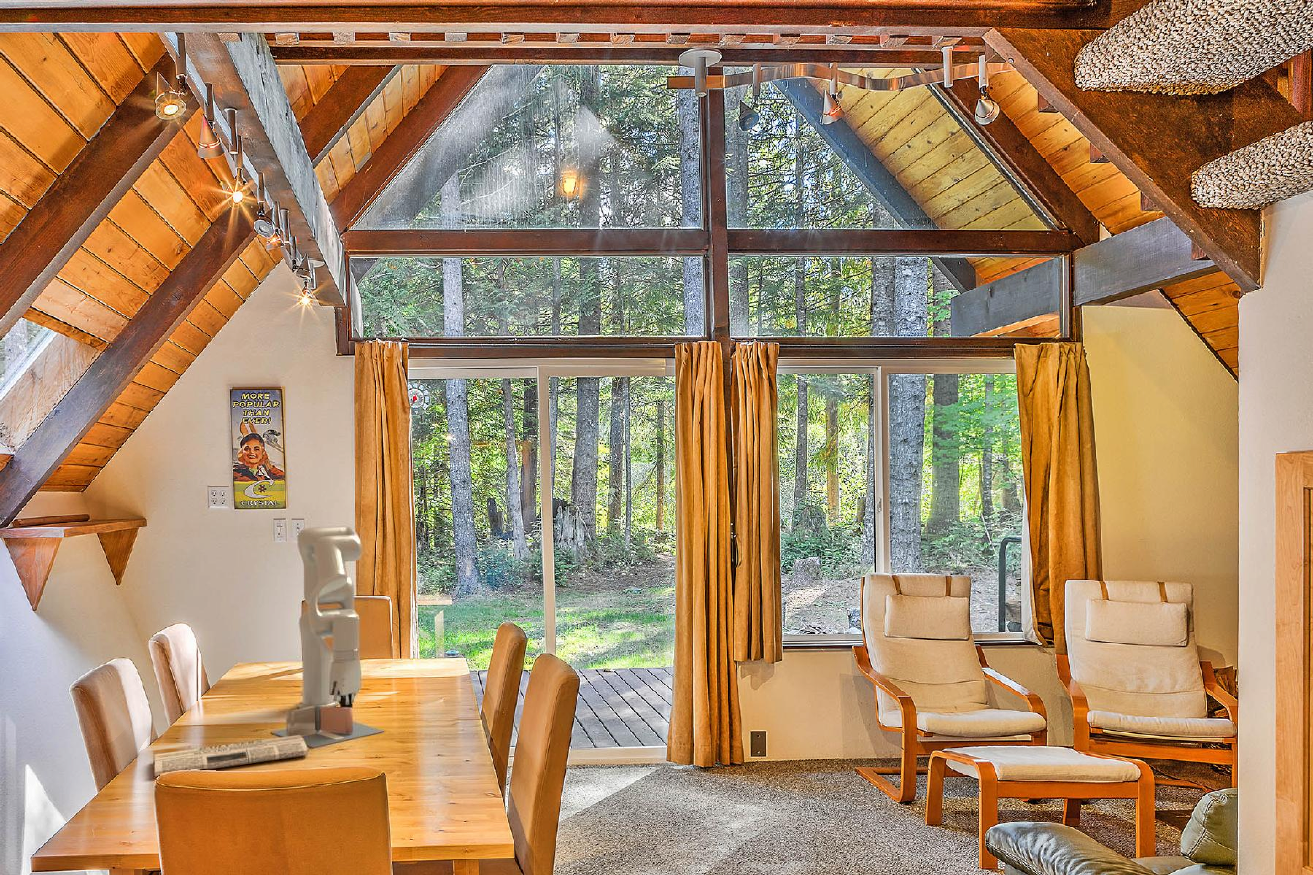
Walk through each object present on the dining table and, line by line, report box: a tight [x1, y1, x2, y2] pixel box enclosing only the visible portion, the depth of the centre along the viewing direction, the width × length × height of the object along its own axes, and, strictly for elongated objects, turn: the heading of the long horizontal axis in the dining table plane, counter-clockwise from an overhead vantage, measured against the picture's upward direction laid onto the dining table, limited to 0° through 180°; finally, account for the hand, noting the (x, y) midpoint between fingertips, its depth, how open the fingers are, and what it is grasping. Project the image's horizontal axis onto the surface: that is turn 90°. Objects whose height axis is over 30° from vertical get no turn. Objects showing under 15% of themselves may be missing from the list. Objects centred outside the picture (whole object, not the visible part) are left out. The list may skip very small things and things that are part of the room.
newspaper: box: [154, 735, 309, 778], centre depth 270 cm, size 37×19×3 cm, turn 117°
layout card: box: [270, 720, 385, 749], centre depth 296 cm, size 26×24×1 cm
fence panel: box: [315, 705, 354, 733], centre depth 294 cm, size 13×2×7 cm, turn 70°
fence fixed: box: [285, 707, 315, 737], centre depth 292 cm, size 2×8×8 cm, turn 136°
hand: (346, 717), depth 297 cm, fingers closed
